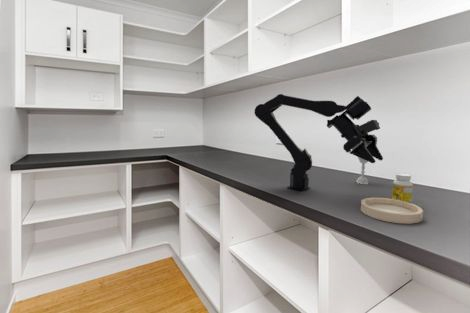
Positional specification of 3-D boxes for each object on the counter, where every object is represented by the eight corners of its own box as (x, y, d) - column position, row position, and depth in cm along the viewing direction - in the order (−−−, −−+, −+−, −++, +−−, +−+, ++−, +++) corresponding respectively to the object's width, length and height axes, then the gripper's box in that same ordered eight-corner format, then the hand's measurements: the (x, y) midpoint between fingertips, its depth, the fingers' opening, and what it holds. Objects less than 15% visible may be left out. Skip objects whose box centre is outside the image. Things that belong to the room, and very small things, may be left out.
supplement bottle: (415, 206, 79) (418, 176, 77) (398, 206, 79) (400, 176, 77) (403, 201, 84) (406, 173, 83) (387, 201, 84) (390, 173, 83)
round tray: (351, 212, 73) (352, 204, 73) (372, 202, 83) (373, 195, 82) (411, 228, 62) (412, 219, 61) (428, 214, 71) (429, 206, 71)
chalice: (374, 184, 107) (377, 142, 104) (359, 184, 106) (362, 142, 104) (364, 180, 114) (367, 141, 111) (350, 181, 113) (352, 141, 111)
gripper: (355, 110, 80) (392, 147, 73) (372, 112, 93) (405, 143, 87) (330, 134, 86) (362, 170, 80) (349, 133, 99) (378, 163, 93)
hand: (378, 161), depth 85 cm, fingers open, 9 cm apart
